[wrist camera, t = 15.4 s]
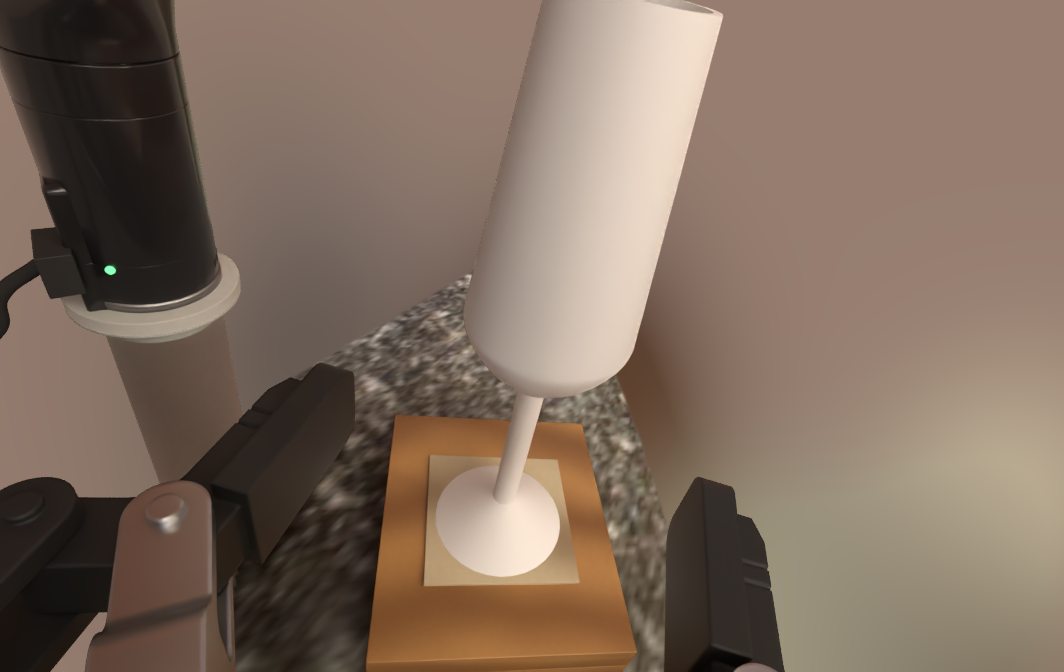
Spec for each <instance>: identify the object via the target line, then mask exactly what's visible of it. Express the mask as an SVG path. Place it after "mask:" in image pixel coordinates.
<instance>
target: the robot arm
mask: <svg viewBox="0 0 1064 672" xmlns="http://www.w3.org/2000/svg"><path fill="white" fill-rule="evenodd" d="M174 9H175V7H174V0H0V69H1V72H2V74H3V77H4V80H5V82H6V85H7V88H8V90H9V93H10V96H11V98H12V101H13V104H14V106H15V109H16V112H17V115H18V117H19V120H20V123H21V125H22V128H23V131H24V133H25V136H26V139H27V141H28V144H29V147H30V150H31V152H32V155H33V157H34V160H35V163H36V166H37V168H38V171H39V176H40V182H41V189H42V192H43V195H44V198H45V200H46V203H47V206H48V209H49V211H50V214H51V217H52V219H53V222H54V225H55V227H54V228H43V229H33V230H31V240H32V249H33V258H34V260H33V259H32V260H31V261H30V262H28V263H27V264H25V265H24V266H22V267H21V268H19V269H17V270H16V271H14V272H12V273H11V274H9V275H8V276H6V277H5V278H4V279H2V280H1V281H0V339H1V338H2V336H3V335H4V334H5V333H6V332H7V330H8V328H9V325H10V318H9V313H8V309H7V302H8V300H9V299H10V297H11V296H12V294H13V293H14V292H15V291H16V290H17V289H19V288H20V287H21V286H23V285H24V284H26V283H28V282H29V281H31V280H32V279H34V278H36V277H37V276H39V275H40V276H41V278H42V281H43V283H44V285H45V287H46V290H47V293H48V295H49V297H50V298H51V299H53V298H60V297H67V296H73V295H79V294H81V296H82V299H83V301H84V304H85V307H86V309H87V311H89V312H94V311H99V310H112V311H117V312H125V313H152V312H161V311H167V310H172V309H176V308H180V307H183V306H186V305H189V304H192V303H194V302H196V301H198V300H200V299H202V298H204V297H206V296H207V295H209V294H210V293H211V292H212V291H214V290H215V289H216V287H217V286H218V285H219V283H220V281H221V278H222V272H221V266H220V262H219V260H218V254H217V249H216V247H215V241H214V236H213V230H212V224H211V219H210V214H209V208H208V203H207V198H206V192H205V186H204V182H203V176H202V171H201V165H200V159H199V154H198V149H197V143H196V138H195V132H194V127H193V121H192V116H191V110H190V106H189V100H188V94H187V89H186V83H185V78H184V72H183V67H182V61H181V56H180V52H179V46H178V40H177V34H176V28H175V11H174ZM354 420H355V389H354V374H353V372H351V371H348V370H345V369H341V368H338V367H335V366H331V365H328V364H325V363H318V364H317V365H315V366H314V367H313V368H312V369H311V371H310V372H309V373H308V374H307V375H306V376H305V377H304V378H303V379H302V380H297V379H294V378H291V377H290V378H288V379H287V380H285V381H283V382H281V383H279V384H277V385H275V386H274V387H272V388H270V389H268V390H267V391H266V392H265V393H264V394H263V395H262V396H261V397H260V398H259V399H258V400H257V401H256V402H255V403H254V404H253V406H252V408H251V410H248V411H247V412H246V413H245V414H244V415H243V416H242V417H241V418H240V419H239V422H238V423H235V424H234V425H233V426H232V427H231V428H230V429H229V431H228V432H227V433H226V434H225V435H224V436H223V437H222V438H221V439H220V440H219V441H218V442H217V443H216V444H215V445H214V446H213V447H212V448H211V449H210V450H209V451H208V452H207V453H206V454H205V455H204V457H203V458H202V459H201V460H200V461H199V462H198V463H197V464H196V465H195V466H194V467H193V468H192V469H191V470H190V471H189V472H188V473H187V474H186V475H185V476H184V477H183V478H181V479H180V480H179V481H170V482H165V483H161V484H159V485H156V486H153V487H151V488H149V489H147V490H145V491H144V492H142V493H141V494H139V495H138V496H137V497H131V498H87V497H83V498H82V497H78V496H77V494H76V492H75V490H74V488H73V487H72V485H71V484H70V483H68V482H66V481H65V480H62V479H59V478H53V477H41V478H33V479H28V480H25V481H21V482H18V483H15V484H13V485H10V486H8V487H6V488H4V489H2V490H0V672H50V671H51V670H52V669H53V668H54V666H55V665H56V664H57V662H58V661H59V660H60V659H61V658H62V656H63V655H64V654H65V653H66V652H67V650H68V649H69V648H70V647H71V646H72V644H73V643H74V642H75V641H76V639H77V638H78V637H79V636H80V635H81V633H82V632H83V631H84V630H85V628H86V627H87V626H88V625H89V624H90V622H91V621H92V620H93V619H94V617H95V616H96V615H97V614H98V613H99V612H107V620H106V624H105V627H104V629H103V631H102V632H99V633H97V634H95V636H94V637H93V638H92V641H91V643H90V646H89V649H88V654H87V659H86V666H85V672H236V664H235V635H234V606H233V580H232V576H233V574H234V573H235V571H236V570H237V569H238V567H239V566H240V565H241V563H242V562H243V560H247V561H251V562H254V563H257V564H260V565H262V564H263V563H264V561H265V560H266V558H267V557H268V556H269V554H270V553H271V551H272V550H273V548H274V547H275V545H276V544H277V542H278V541H279V540H280V538H281V537H282V535H283V534H284V532H285V531H286V529H287V528H288V527H289V525H290V524H291V522H292V521H293V519H294V518H295V516H296V515H297V513H298V512H299V511H300V509H301V508H302V506H303V505H304V503H305V502H306V500H307V499H308V498H309V496H310V495H311V493H312V492H313V490H314V489H315V487H316V486H317V484H318V483H319V482H320V480H321V479H322V477H323V476H324V474H325V473H326V471H327V470H328V469H329V467H330V466H331V464H332V463H333V461H334V460H335V458H336V457H337V455H338V454H339V453H340V451H341V450H342V448H343V447H344V445H345V444H346V442H347V440H348V439H349V436H350V434H351V432H352V429H353V425H354ZM767 568H768V563H767V556H766V550H765V543H764V541H763V539H762V537H761V535H760V533H759V531H758V530H757V528H756V526H755V524H754V522H753V520H752V519H751V518H748V517H745V516H742V515H739V514H737V508H736V499H735V492H734V489H733V488H732V487H731V486H727V485H724V484H721V483H717V482H714V481H711V480H707V479H704V478H701V477H697V478H695V480H694V481H693V483H692V484H691V486H690V488H689V489H688V491H687V493H686V495H685V496H684V498H683V500H682V501H681V503H680V505H679V507H678V508H677V510H676V512H675V514H674V516H673V517H672V520H671V522H670V526H669V529H668V534H667V542H666V598H665V662H664V672H785V671H784V666H783V660H782V654H781V647H780V642H779V634H778V628H777V621H776V615H775V608H774V602H773V595H772V591H770V588H771V582H770V576H769V571H767Z"/></svg>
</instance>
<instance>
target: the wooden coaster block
mask: <svg viewBox="0 0 1064 672" xmlns="http://www.w3.org/2000/svg"><path fill="white" fill-rule="evenodd" d="M510 421H511V420H492V419H472V418H452V417H432V416H413V415H395V421H394V429H393V438H392V446H391V455H390V463H389V471H388V480H387V488H386V497H385V505H384V513H383V522H382V530H381V539H380V547H379V556H378V564H377V572H376V581H375V589H374V598H373V606H372V614H371V623H370V631H369V640H368V648H367V657H366V672H623V670H624V669H625V667H626V666H627V665H628V664H629V662H630V661H631V659H632V658H633V657H634V655H635V654H636V652H637V651H636V647H635V643H634V638H633V634H632V630H631V626H630V622H629V618H628V614H627V609H626V605H625V601H624V597H623V593H622V589H621V585H620V580H619V576H618V572H617V568H616V564H615V560H614V556H613V551H612V547H611V543H610V539H609V535H608V531H607V527H606V522H605V518H604V514H603V510H602V506H601V502H600V498H599V494H598V489H597V485H596V481H595V477H594V473H593V469H592V465H591V460H590V456H589V452H588V448H587V444H586V440H585V436H584V431H583V427H582V424H571V423H551V422H537V424H536V427H535V431H534V434H533V438H532V441H531V445H530V448H529V452H528V455H527V459H526V462H525V466H524V469H523V473H525V474H527V475H529V476H531V477H532V478H534V479H535V480H536V481H538V482H539V483H540V484H541V485H542V486H543V487H544V488H545V489H546V490H547V491H548V493H549V494H550V496H551V497H552V499H553V500H554V503H555V505H556V507H557V510H558V514H559V519H560V531H559V536H558V541H557V543H556V545H555V547H554V549H553V551H552V552H551V554H550V555H549V556H548V558H547V559H546V560H545V561H544V562H542V563H541V564H540V565H539V566H537V567H536V568H534V569H532V570H530V571H528V572H526V573H523V574H519V575H515V576H506V577H497V576H490V575H485V574H482V573H479V572H476V571H473V570H471V569H469V568H468V567H466V566H464V565H462V564H461V563H460V562H459V561H457V560H456V559H455V558H454V557H453V556H452V555H451V554H450V553H449V552H448V550H447V549H446V548H445V546H444V545H443V543H442V541H441V539H440V537H439V534H438V530H437V527H436V508H437V503H438V500H439V498H440V496H441V494H442V492H443V490H444V489H445V488H446V486H447V485H448V484H449V483H450V482H451V481H452V480H453V479H454V478H456V477H457V476H459V475H460V474H462V473H464V472H465V471H468V470H471V469H474V468H477V467H483V466H500V462H501V458H502V454H503V450H504V446H505V441H506V437H507V433H508V429H509V425H510Z"/></svg>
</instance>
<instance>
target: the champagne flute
mask: <svg viewBox="0 0 1064 672" xmlns="http://www.w3.org/2000/svg"><path fill="white" fill-rule="evenodd" d="M722 18H723V14H721V13H719V12H717V11H715V10H712V9H709V8H706V7H704V6H700V5H697V4H694V3H691V2H687V1H684V0H542V3H541V8H540V11H539V15H538V19H537V23H536V27H535V31H534V35H533V39H532V42H531V46H530V51H529V54H528V58H527V62H526V66H525V70H524V74H523V78H522V82H521V85H520V90H519V93H518V97H517V101H516V105H515V109H514V113H513V117H512V121H511V125H510V128H509V132H508V136H507V140H506V144H505V148H504V152H503V156H502V160H501V164H500V168H499V172H498V175H497V179H496V183H495V187H494V191H493V195H492V199H491V203H490V207H489V210H488V214H487V218H486V222H485V226H484V230H483V234H482V238H481V242H480V246H479V250H478V253H477V257H476V261H475V265H474V269H473V273H472V277H471V281H470V285H469V289H468V293H467V296H466V300H465V305H464V309H463V314H464V323H465V330H466V333H467V335H468V337H469V340H470V342H471V344H472V346H473V348H474V350H475V352H476V353H477V355H478V356H479V357H480V359H481V360H482V361H483V363H484V364H485V365H486V367H487V368H488V369H489V370H490V371H491V372H492V373H493V374H494V375H495V376H496V377H497V378H498V379H500V380H501V381H503V382H504V383H506V384H507V385H509V386H510V387H512V388H514V389H515V390H517V391H518V392H517V396H516V400H515V404H514V408H513V412H512V417H511V421H510V425H509V429H508V433H507V437H506V441H505V446H504V450H503V454H502V458H501V462H500V466H483V467H477V468H474V469H471V470H468V471H465V472H464V473H462V474H460V475H459V476H457V477H456V478H454V479H453V480H452V481H451V482H450V483H449V484H448V485H447V486H446V488H445V489H444V490H443V492H442V494H441V496H440V498H439V500H438V503H437V508H436V527H437V530H438V534H439V537H440V539H441V541H442V543H443V545H444V546H445V548H446V549H447V550H448V552H449V553H450V554H451V555H452V556H453V557H454V558H455V559H456V560H457V561H459V562H460V563H461V564H462V565H464V566H466V567H468V568H469V569H471V570H473V571H476V572H479V573H482V574H485V575H490V576H497V577H506V576H515V575H519V574H523V573H526V572H528V571H530V570H532V569H534V568H536V567H537V566H539V565H540V564H541V563H542V562H544V561H545V560H546V559H547V558H548V556H549V555H550V554H551V552H552V551H553V549H554V547H555V545H556V543H557V541H558V536H559V531H560V519H559V514H558V510H557V507H556V505H555V503H554V500H553V499H552V497H551V496H550V494H549V493H548V491H547V490H546V489H545V488H544V487H543V486H542V485H541V484H540V483H539V482H538V481H536V480H535V479H534V478H532V477H531V476H529V475H527V474H525V473H523V469H524V466H525V462H526V459H527V455H528V452H529V448H530V445H531V441H532V438H533V434H534V431H535V427H536V424H537V420H538V417H539V413H540V410H541V406H542V402H543V399H544V398H559V397H567V396H573V395H576V394H579V393H582V392H585V391H587V390H590V389H592V388H595V387H596V386H598V385H600V384H602V383H603V382H605V381H606V380H608V379H609V378H611V377H612V376H614V375H615V374H616V373H617V372H618V371H619V370H620V369H621V368H622V367H623V366H624V365H625V364H626V362H627V361H628V360H629V358H630V356H631V354H632V352H633V350H634V346H635V342H636V338H637V335H638V331H639V327H640V323H641V320H642V316H643V312H644V309H645V305H646V301H647V297H648V294H649V290H650V286H651V282H652V279H653V275H654V271H655V267H656V264H657V260H658V256H659V253H660V249H661V245H662V242H663V238H664V234H665V230H666V227H667V223H668V219H669V215H670V212H671V208H672V204H673V201H674V197H675V193H676V189H677V186H678V182H679V178H680V175H681V171H682V167H683V164H684V160H685V156H686V152H687V148H688V145H689V141H690V137H691V134H692V130H693V126H694V123H695V119H696V115H697V111H698V108H699V104H700V100H701V96H702V93H703V89H704V85H705V81H706V78H707V74H708V71H709V67H710V63H711V59H712V56H713V52H714V48H715V44H716V40H717V37H718V33H719V29H720V26H721V22H722Z"/></svg>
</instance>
